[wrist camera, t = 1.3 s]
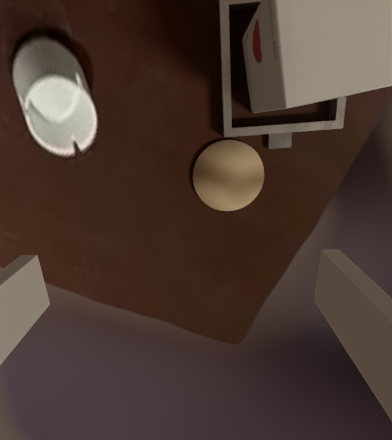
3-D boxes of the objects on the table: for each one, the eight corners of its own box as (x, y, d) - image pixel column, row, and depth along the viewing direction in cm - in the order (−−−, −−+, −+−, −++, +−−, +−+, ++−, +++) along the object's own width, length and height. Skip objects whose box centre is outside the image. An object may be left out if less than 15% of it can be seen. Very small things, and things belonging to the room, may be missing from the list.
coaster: (190, 142, 37) (190, 142, 36) (263, 137, 36) (264, 137, 36) (195, 211, 40) (195, 213, 39) (262, 207, 40) (263, 208, 39)
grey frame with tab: (217, -20, 30) (218, -29, 29) (351, -33, 30) (361, -43, 28) (223, 151, 37) (224, 153, 35) (333, 143, 36) (341, 144, 35)
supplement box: (239, 36, 32) (270, -30, 18) (314, 17, 32) (407, -67, 18) (250, 115, 35) (283, 110, 21) (319, 99, 35) (400, 84, 21)
